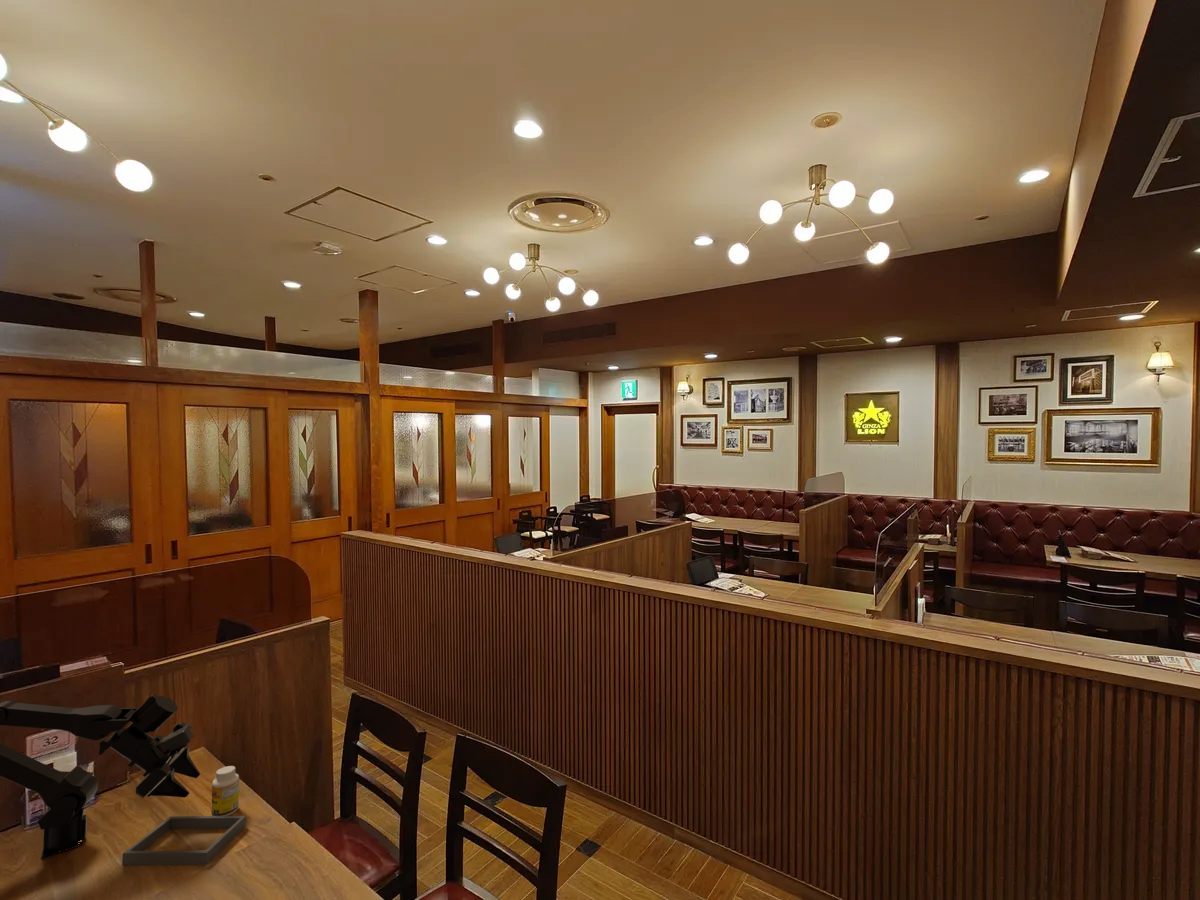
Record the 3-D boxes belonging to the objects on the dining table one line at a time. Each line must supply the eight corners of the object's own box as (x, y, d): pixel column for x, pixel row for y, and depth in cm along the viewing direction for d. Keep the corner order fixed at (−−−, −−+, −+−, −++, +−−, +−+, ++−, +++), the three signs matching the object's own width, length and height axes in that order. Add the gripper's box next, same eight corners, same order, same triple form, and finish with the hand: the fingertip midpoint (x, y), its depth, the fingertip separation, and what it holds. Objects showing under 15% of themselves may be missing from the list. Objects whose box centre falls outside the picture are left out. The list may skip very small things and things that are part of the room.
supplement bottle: (209, 811, 137) (210, 769, 137) (236, 803, 141) (237, 761, 141) (212, 822, 133) (213, 778, 133) (240, 813, 136) (240, 770, 137)
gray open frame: (122, 865, 118) (122, 853, 118) (169, 827, 131) (170, 816, 131) (206, 864, 118) (207, 852, 118) (245, 826, 131) (246, 815, 131)
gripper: (155, 734, 125) (212, 774, 128) (181, 704, 142) (230, 740, 146) (109, 777, 121) (169, 818, 125) (141, 741, 138) (193, 777, 142)
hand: (193, 785), depth 134 cm, fingers open, 9 cm apart
